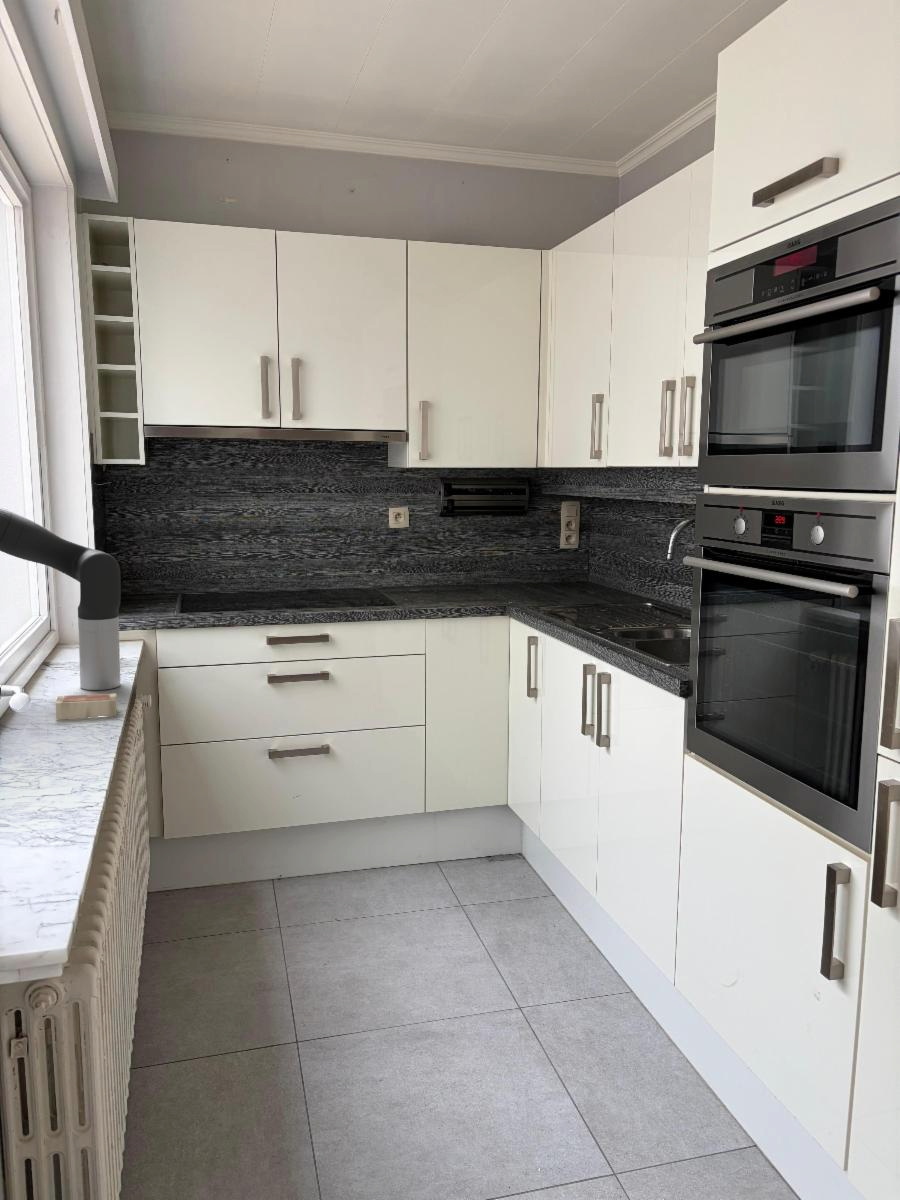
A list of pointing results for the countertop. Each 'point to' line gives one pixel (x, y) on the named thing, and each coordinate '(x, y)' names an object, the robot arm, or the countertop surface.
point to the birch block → (86, 706)
